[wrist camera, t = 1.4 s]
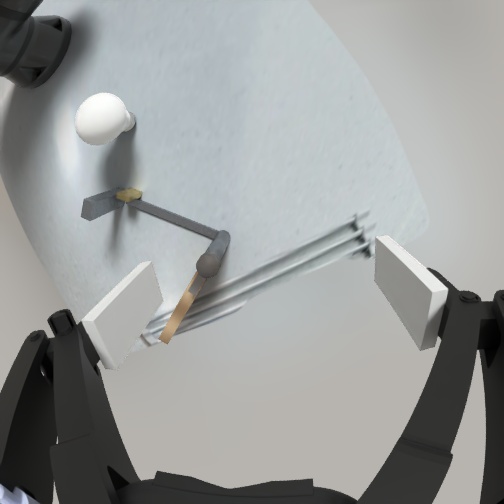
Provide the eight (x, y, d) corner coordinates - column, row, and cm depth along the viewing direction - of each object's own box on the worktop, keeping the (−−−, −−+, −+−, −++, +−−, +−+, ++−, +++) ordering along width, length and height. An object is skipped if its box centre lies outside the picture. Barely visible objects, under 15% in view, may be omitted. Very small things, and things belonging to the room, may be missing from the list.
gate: (183, 319, 43) (164, 357, 34) (170, 311, 43) (149, 348, 34) (234, 236, 38) (222, 264, 29) (219, 227, 37) (202, 252, 28)
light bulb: (147, 95, 32) (106, 81, 22) (152, 138, 34) (110, 137, 24) (109, 107, 33) (63, 100, 22) (113, 148, 35) (66, 153, 25)
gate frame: (115, 202, 38) (80, 216, 29) (119, 183, 37) (84, 194, 28) (227, 247, 39) (214, 274, 31) (234, 228, 38) (223, 251, 30)
